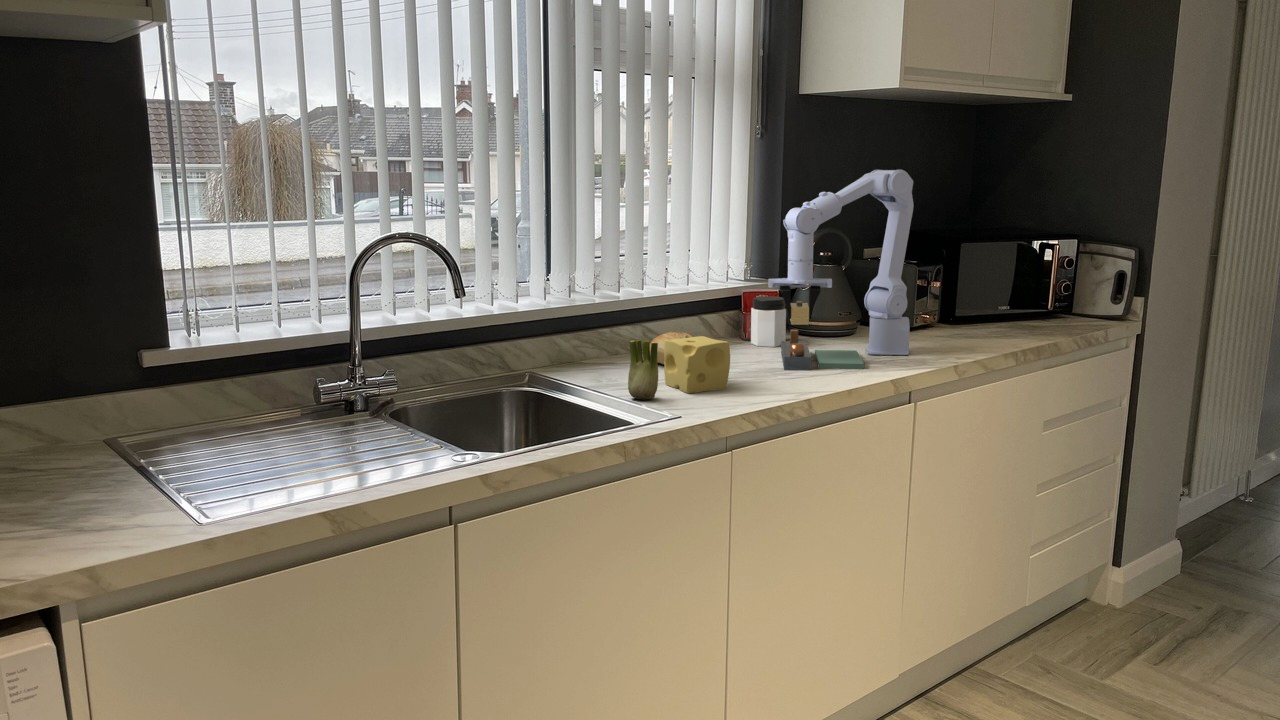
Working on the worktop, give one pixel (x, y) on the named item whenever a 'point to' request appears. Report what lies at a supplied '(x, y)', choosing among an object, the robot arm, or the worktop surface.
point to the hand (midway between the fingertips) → (799, 318)
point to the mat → (839, 359)
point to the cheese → (696, 364)
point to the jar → (768, 321)
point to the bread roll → (661, 343)
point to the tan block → (799, 313)
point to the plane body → (795, 353)
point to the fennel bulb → (643, 370)
